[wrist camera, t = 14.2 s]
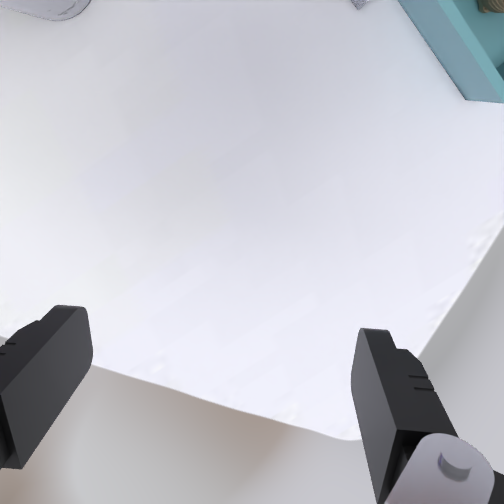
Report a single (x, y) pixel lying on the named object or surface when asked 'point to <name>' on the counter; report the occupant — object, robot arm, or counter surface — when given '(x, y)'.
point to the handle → (491, 6)
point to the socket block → (359, 3)
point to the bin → (464, 44)
